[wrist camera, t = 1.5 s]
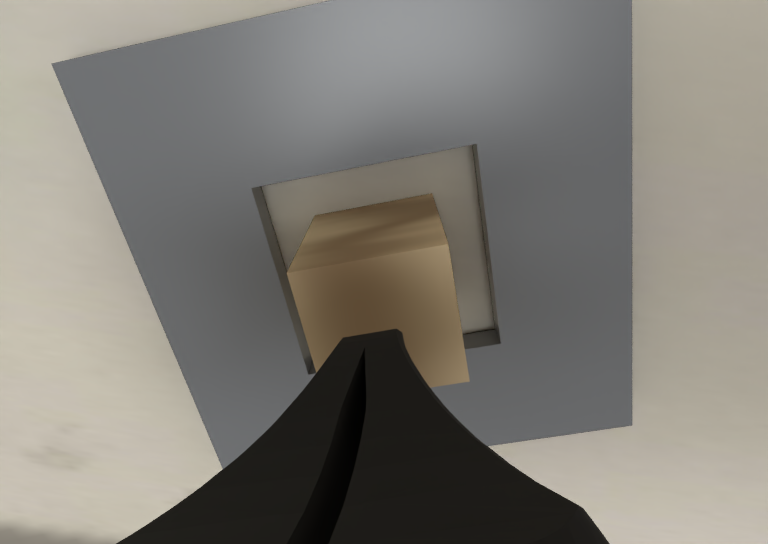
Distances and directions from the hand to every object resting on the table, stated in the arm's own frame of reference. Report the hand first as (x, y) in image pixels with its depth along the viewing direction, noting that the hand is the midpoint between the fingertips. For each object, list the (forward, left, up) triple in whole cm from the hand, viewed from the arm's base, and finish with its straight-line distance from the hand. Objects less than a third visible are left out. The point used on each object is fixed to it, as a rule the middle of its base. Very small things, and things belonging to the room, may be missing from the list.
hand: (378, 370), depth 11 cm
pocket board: (0, 0, -7) cm, 7 cm away
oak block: (0, 0, -7) cm, 7 cm away
